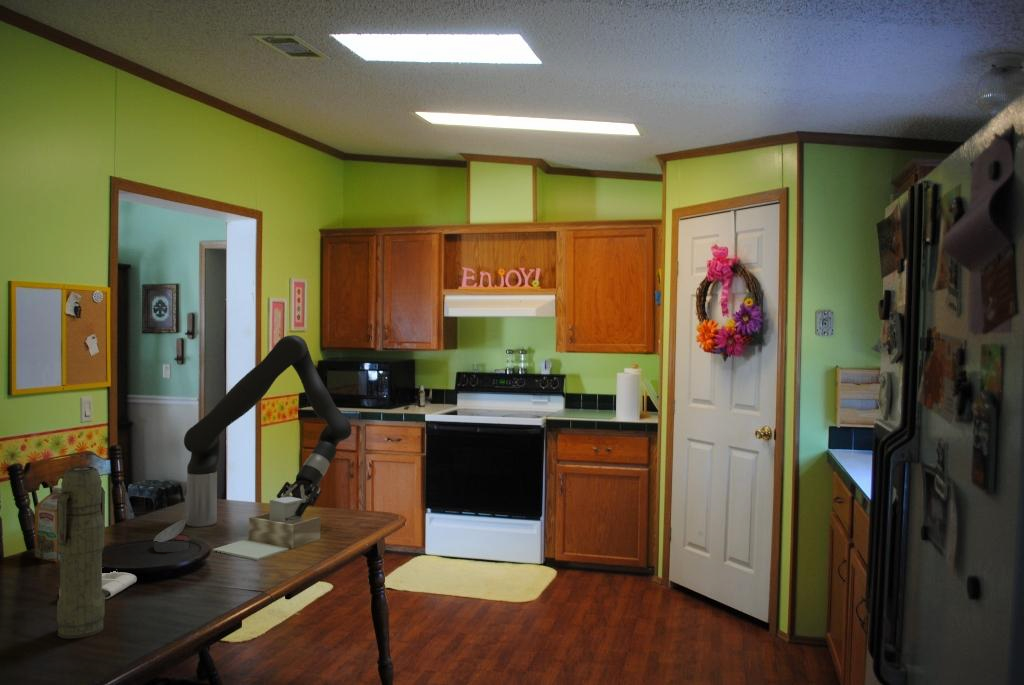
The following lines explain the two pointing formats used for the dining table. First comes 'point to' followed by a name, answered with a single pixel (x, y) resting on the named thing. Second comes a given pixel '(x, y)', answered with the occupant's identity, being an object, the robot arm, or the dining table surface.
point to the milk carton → (47, 527)
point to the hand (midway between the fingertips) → (287, 513)
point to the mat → (251, 549)
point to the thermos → (80, 553)
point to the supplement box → (285, 510)
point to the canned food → (173, 532)
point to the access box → (283, 531)
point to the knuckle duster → (116, 582)
